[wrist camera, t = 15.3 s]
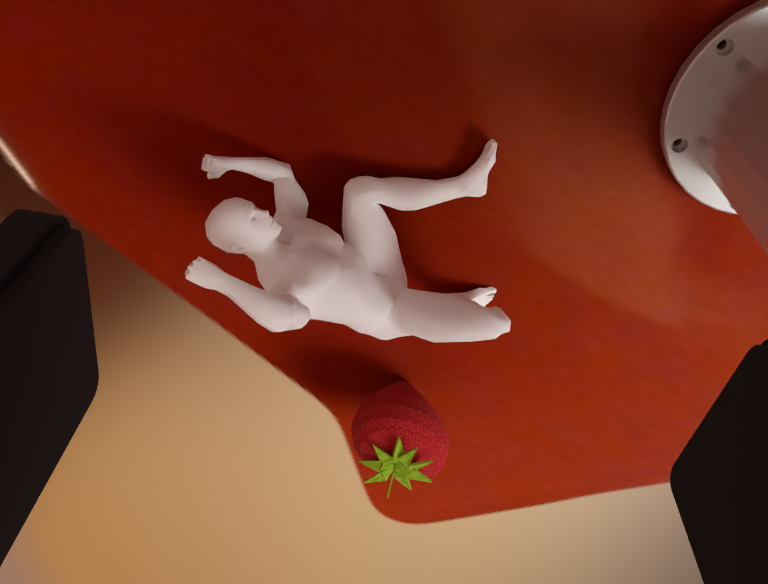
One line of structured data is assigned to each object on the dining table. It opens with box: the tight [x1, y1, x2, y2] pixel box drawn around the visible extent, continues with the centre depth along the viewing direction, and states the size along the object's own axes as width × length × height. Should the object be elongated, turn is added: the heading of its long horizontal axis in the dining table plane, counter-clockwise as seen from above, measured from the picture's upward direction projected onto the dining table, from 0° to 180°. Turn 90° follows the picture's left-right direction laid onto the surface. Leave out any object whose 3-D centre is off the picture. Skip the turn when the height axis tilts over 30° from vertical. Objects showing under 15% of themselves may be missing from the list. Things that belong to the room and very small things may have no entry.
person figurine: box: [185, 139, 511, 342], centre depth 40 cm, size 13×13×18 cm
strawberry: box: [351, 381, 449, 498], centre depth 48 cm, size 6×8×10 cm
